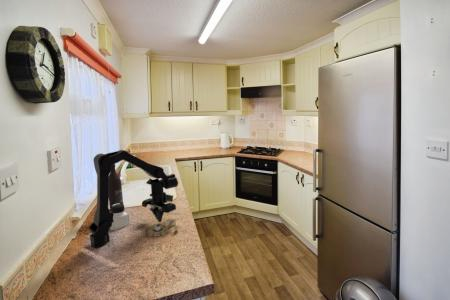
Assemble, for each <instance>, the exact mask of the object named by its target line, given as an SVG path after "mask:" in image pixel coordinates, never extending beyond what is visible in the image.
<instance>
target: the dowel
mask: <svg viewBox="0 0 450 300" xmlns="http://www.w3.org/2000/svg"><path fill="white" fill-rule="evenodd" d="M173 227H174V233H178V232H179V224H177V223H176V224H175V225H173Z"/></svg>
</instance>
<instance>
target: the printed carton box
mask: <svg viewBox="0 0 450 300" xmlns="http://www.w3.org/2000/svg"><path fill="white" fill-rule="evenodd" d="M111 211H112V212H113V213H114V215H113V221H114V222H112V226H111V227H110V228H109V229H111V230H112V231H116V230H119V229H121V228H124V227H127V226H130V217H129V213H127V212H125V211H126V209H125V205H124V203H123V204H114V205H113V206H112V207H111Z"/></svg>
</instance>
